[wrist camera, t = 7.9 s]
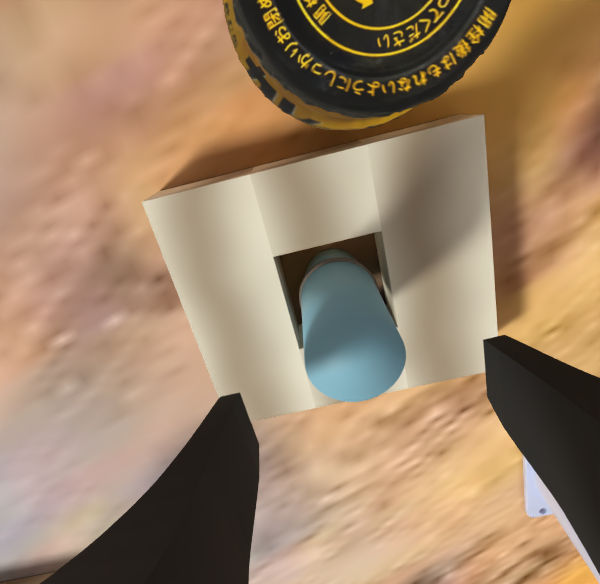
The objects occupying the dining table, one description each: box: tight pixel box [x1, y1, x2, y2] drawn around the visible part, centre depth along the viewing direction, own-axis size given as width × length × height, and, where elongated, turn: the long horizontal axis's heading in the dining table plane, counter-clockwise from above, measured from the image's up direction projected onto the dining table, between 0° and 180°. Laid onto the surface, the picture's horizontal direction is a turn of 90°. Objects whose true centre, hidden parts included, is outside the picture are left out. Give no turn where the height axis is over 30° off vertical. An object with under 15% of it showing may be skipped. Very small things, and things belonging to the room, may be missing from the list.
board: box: [142, 114, 498, 422], centre depth 20 cm, size 14×12×2 cm
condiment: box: [223, 0, 511, 130], centre depth 13 cm, size 7×8×12 cm
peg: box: [299, 249, 406, 402], centre depth 18 cm, size 4×4×8 cm
